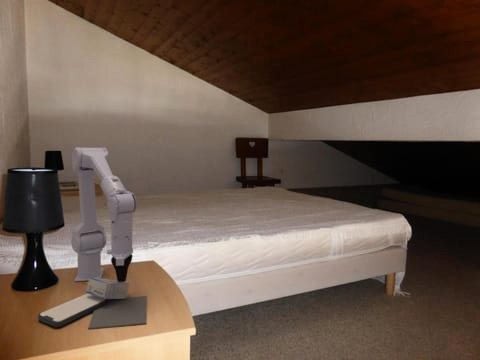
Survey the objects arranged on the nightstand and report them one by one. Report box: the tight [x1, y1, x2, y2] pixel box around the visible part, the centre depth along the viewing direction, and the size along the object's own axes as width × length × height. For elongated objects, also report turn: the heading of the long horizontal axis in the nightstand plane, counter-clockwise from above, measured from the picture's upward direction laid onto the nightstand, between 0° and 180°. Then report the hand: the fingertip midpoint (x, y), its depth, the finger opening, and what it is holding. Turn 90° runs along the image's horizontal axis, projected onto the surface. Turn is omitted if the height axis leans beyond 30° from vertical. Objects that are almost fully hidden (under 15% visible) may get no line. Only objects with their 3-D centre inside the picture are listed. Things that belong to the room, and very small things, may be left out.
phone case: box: [37, 293, 107, 328], centre depth 97 cm, size 9×2×16 cm
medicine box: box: [85, 278, 130, 299], centre depth 104 cm, size 8×4×9 cm
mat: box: [87, 295, 148, 330], centre depth 98 cm, size 16×14×1 cm
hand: (121, 280), depth 103 cm, fingers closed
